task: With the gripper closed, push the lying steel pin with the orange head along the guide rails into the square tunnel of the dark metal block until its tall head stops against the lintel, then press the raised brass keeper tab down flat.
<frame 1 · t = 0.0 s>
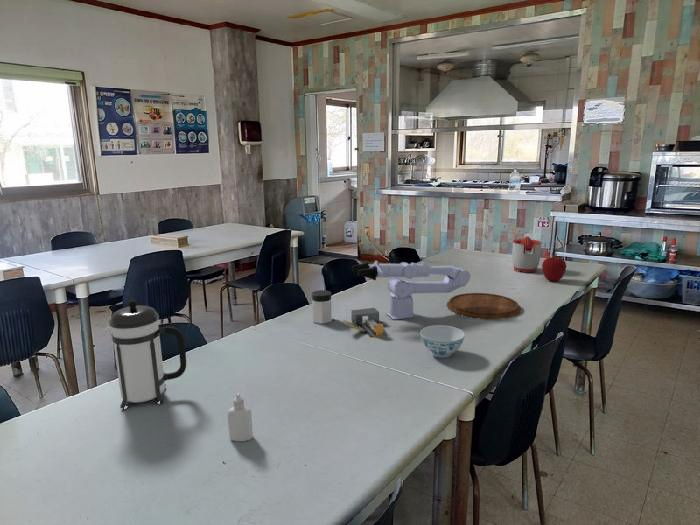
hand: (355, 270, 197), 22 cm above the table, tool horizontal, fingers open, 7 cm apart
apple: (552, 281, 257), on the table
keeper tab: (354, 326, 189), point 3 cm above the table, hinge at 30.0°
eye dropper bottle: (241, 438, 121), on the table
hitch block: (365, 322, 200), on the table
citrus juicer: (525, 271, 278), on the table
jar: (322, 320, 204), on the table
cutting board: (482, 308, 217), on the table
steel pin: (373, 330, 191), on the table
chinaware: (441, 354, 169), on the table
coffee press: (149, 397, 143), on the table
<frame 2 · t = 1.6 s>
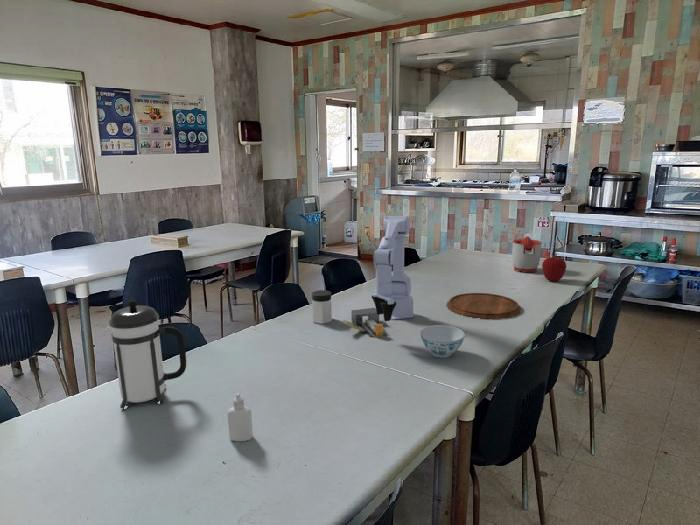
hand: (383, 317, 178), 9 cm above the table, tool pointing down, fingers open, 7 cm apart
nothing on the table moved.
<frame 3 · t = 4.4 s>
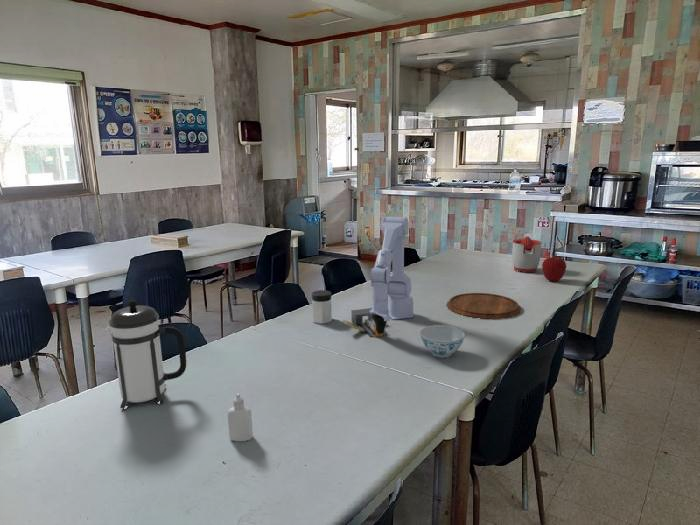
hand: (380, 333, 183), 2 cm above the table, tool pointing down, fingers closed
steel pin: (372, 330, 191), on the table, touching gripper
everything else where it was.
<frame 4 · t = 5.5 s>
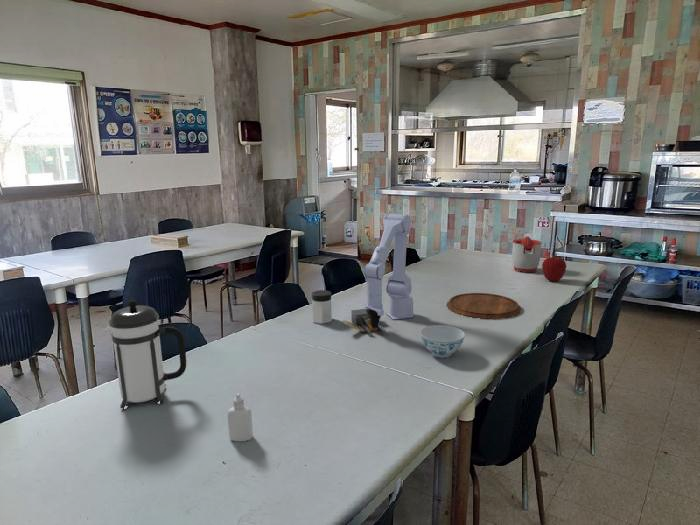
hand: (374, 327, 189), 2 cm above the table, tool pointing down, fingers closed
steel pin: (367, 325, 197), on the table, touching gripper
everything else where it was.
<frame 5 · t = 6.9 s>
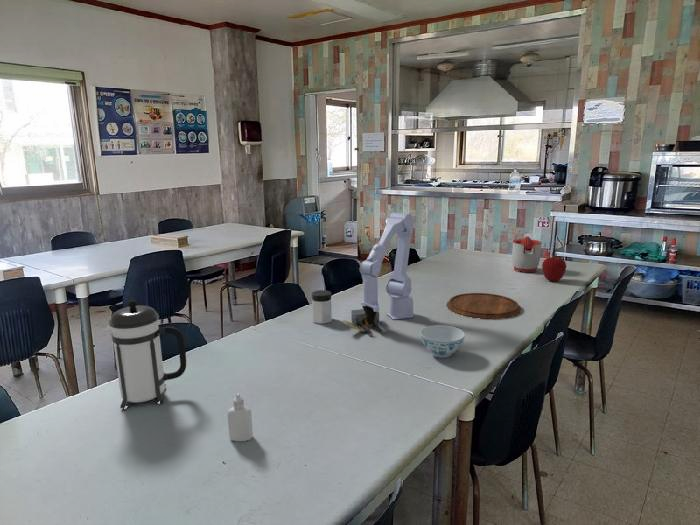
hand: (370, 323, 193), 2 cm above the table, tool pointing down, fingers closed
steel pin: (363, 321, 201), on the table, touching gripper
everything else where it was.
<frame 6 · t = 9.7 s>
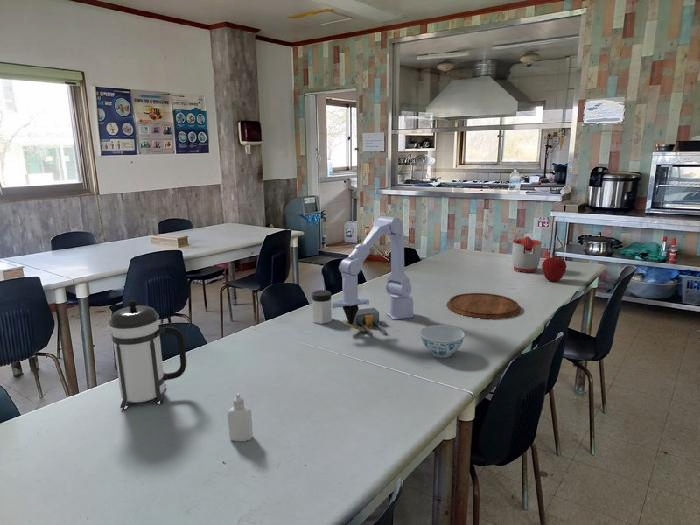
hand: (350, 323, 188), 4 cm above the table, tool pointing down, fingers closed, pressing on keeper tab
keeper tab: (354, 326, 189), point 3 cm above the table, hinge at 29.8°, touching gripper
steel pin: (363, 321, 201), on the table
everything else where it was.
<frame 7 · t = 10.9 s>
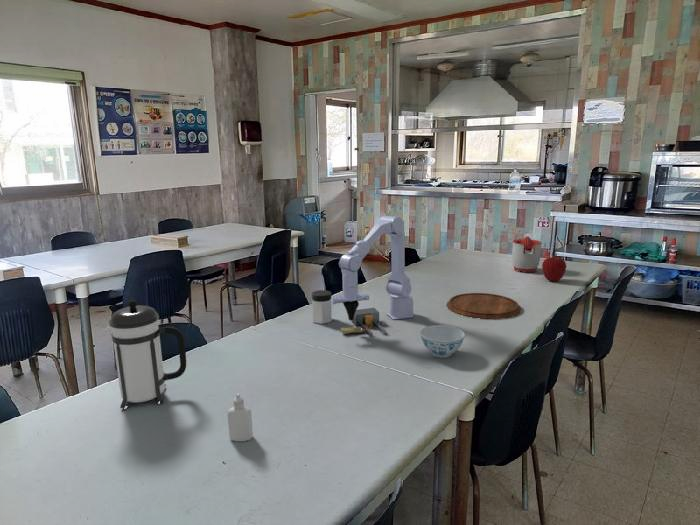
hand: (350, 319, 188), 6 cm above the table, tool pointing down, fingers closed
keeper tab: (352, 330, 189), point 1 cm above the table, hinge at 6.1°
everything else where it was.
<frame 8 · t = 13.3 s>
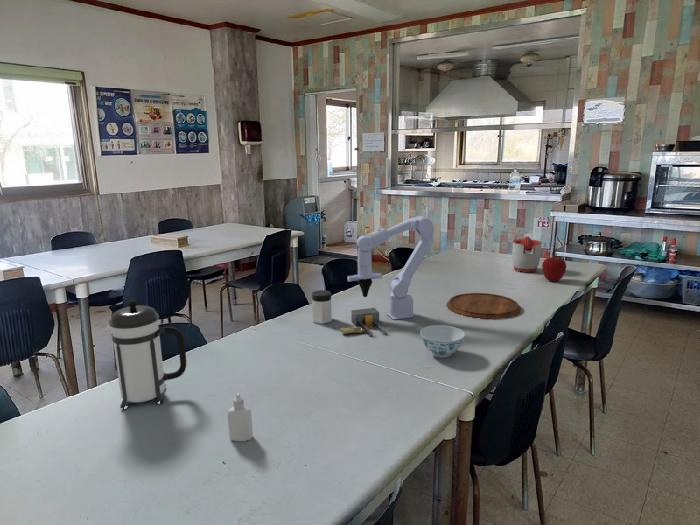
hand: (364, 296, 204), 9 cm above the table, tool pointing down, fingers closed
keeper tab: (352, 330, 189), point 1 cm above the table, hinge at 5.6°
everything else where it was.
at the end: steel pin 0.4 cm from the target spot, on the table; keeper tab at +6° (first picture: +30°) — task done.
